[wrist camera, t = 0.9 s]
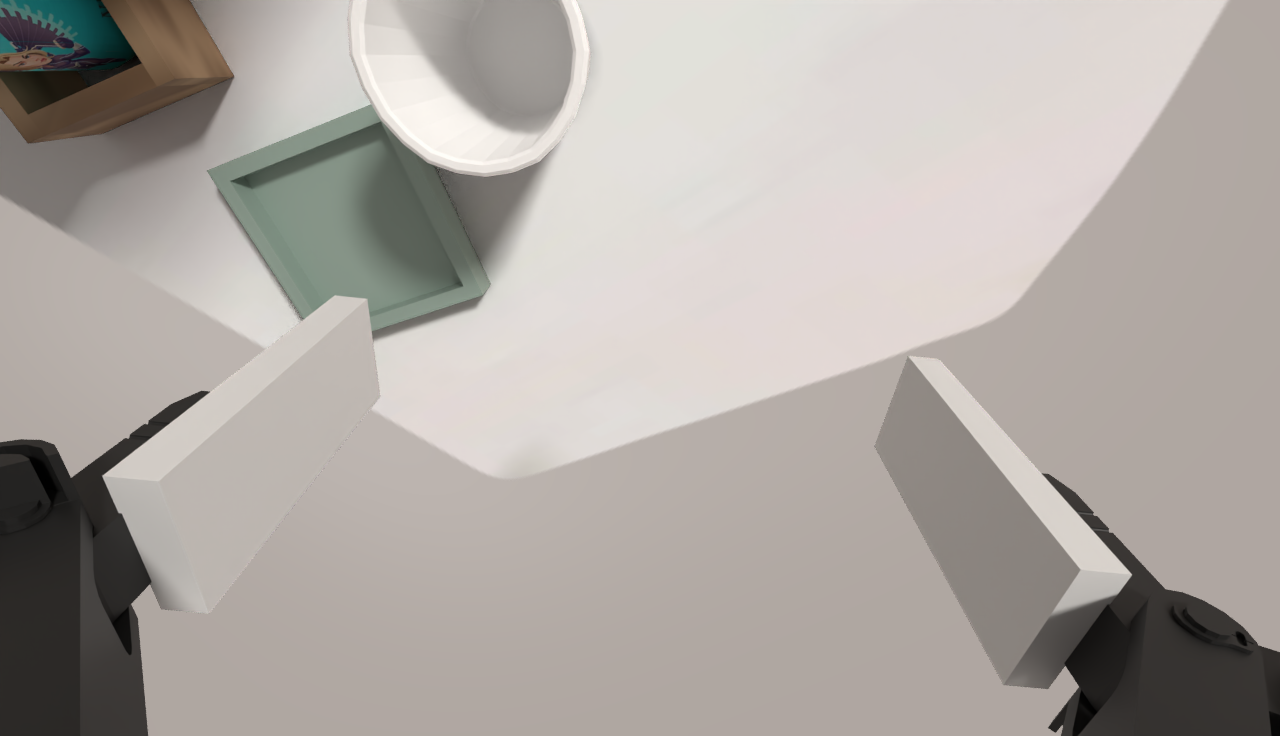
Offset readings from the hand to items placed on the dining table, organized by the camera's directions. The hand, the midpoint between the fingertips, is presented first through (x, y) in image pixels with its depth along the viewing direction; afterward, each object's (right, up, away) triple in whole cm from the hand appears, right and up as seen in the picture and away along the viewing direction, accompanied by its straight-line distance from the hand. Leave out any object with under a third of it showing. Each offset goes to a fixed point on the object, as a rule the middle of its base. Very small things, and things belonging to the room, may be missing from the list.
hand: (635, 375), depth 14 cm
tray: (-19, +10, +26) cm, 33 cm away
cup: (-7, +19, +21) cm, 29 cm away
